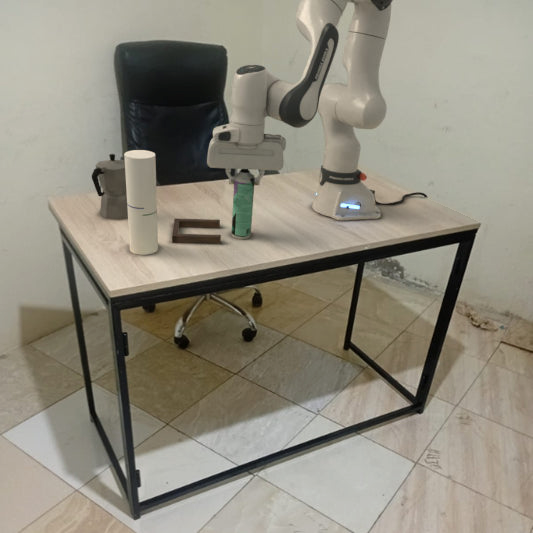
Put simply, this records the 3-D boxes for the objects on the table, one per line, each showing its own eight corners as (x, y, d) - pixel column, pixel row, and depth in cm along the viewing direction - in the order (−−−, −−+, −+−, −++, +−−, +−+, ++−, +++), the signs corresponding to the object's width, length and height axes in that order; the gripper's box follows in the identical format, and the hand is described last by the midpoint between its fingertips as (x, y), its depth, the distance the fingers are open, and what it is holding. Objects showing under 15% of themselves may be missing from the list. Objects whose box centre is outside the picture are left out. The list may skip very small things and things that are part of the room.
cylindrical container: (132, 242, 134) (126, 149, 122) (159, 243, 135) (156, 150, 123) (127, 254, 128) (122, 157, 116) (156, 255, 128) (153, 159, 117)
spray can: (251, 232, 145) (256, 164, 136) (249, 240, 141) (254, 170, 131) (233, 230, 146) (236, 162, 136) (230, 237, 141) (233, 168, 132)
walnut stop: (219, 225, 148) (219, 219, 147) (220, 243, 137) (220, 237, 136) (174, 224, 146) (174, 218, 145) (172, 242, 136) (172, 235, 135)
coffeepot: (116, 203, 157) (113, 146, 148) (142, 209, 154) (140, 151, 145) (83, 220, 144) (76, 158, 135) (110, 227, 141) (105, 164, 133)
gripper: (285, 132, 134) (280, 182, 140) (207, 127, 131) (206, 178, 138) (288, 138, 128) (283, 189, 135) (207, 133, 126) (206, 186, 132)
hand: (243, 184), depth 136 cm, fingers closed on spray can, 5 cm apart
